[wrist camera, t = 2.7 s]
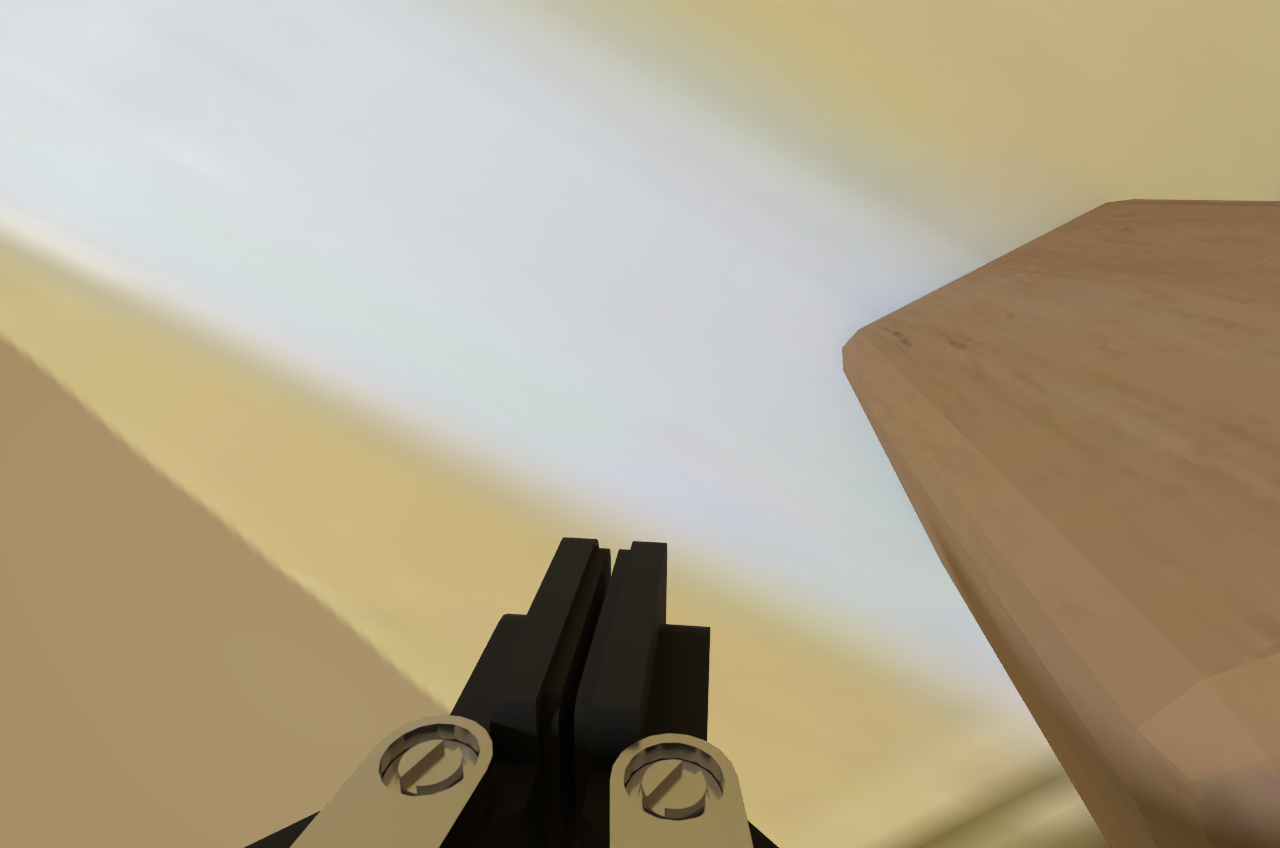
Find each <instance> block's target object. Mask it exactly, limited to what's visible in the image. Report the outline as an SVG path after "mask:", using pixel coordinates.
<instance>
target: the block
mask: <svg viewBox="0 0 1280 848" xmlns="http://www.w3.org/2000/svg"><path fill="white" fill-rule="evenodd" d="M842 352H843V370H844V372H845V374H846V376H847V378H848V380H849V382H850V384H851V386H852V388H853V390H854V392H855V394H856V396H857V398H858V400H859V402H860V404H861V406H862V408H863V410H864V412H865V413H866V415H867V417H868V419H869V421H870V423H871V425H872V427H873V429H874V431H875V433H876V435H877V437H878V439H879V441H880V443H881V445H882V447H883V449H884V451H885V453H886V455H887V457H888V458H889V460H890V462H891V464H892V466H893V468H894V470H895V472H896V474H897V476H898V478H899V480H900V482H901V484H902V486H903V488H904V490H905V492H906V494H907V496H908V498H909V500H910V502H911V504H912V505H913V507H914V509H915V511H916V513H917V515H918V517H919V519H920V521H921V523H922V525H923V527H924V529H925V531H926V533H927V535H928V537H929V539H930V541H931V543H932V545H933V547H934V549H935V551H936V552H937V554H938V556H939V558H940V560H941V562H942V564H943V566H944V567H945V569H946V571H947V572H948V574H949V576H950V577H951V579H952V581H953V582H954V584H955V586H956V588H957V589H958V591H959V593H960V594H961V596H962V598H963V599H964V601H965V603H966V604H967V606H968V608H969V609H970V611H971V613H972V615H973V616H974V618H975V620H976V621H977V623H978V625H979V626H980V628H981V630H982V631H983V633H984V635H985V636H986V638H987V640H988V642H989V643H990V645H991V647H992V648H993V650H994V652H995V653H996V655H997V657H998V658H999V660H1000V662H1001V663H1002V665H1003V667H1004V669H1005V670H1006V672H1007V674H1008V675H1009V677H1010V679H1011V680H1012V682H1013V684H1014V685H1015V687H1016V689H1017V690H1018V692H1019V694H1020V696H1021V697H1022V699H1023V701H1024V702H1025V704H1026V706H1027V707H1028V709H1029V711H1030V712H1031V714H1032V716H1033V718H1034V719H1035V721H1036V723H1037V724H1038V726H1039V728H1040V729H1041V731H1042V733H1043V734H1044V736H1045V738H1046V739H1047V741H1048V743H1049V745H1050V746H1051V748H1052V750H1053V751H1054V753H1055V755H1056V756H1057V758H1058V760H1059V761H1060V763H1061V765H1062V766H1063V768H1064V770H1065V772H1066V773H1067V775H1068V777H1069V778H1070V780H1071V782H1072V783H1073V785H1074V787H1075V788H1076V790H1077V792H1078V793H1079V795H1080V797H1081V799H1082V800H1083V802H1084V804H1085V805H1086V807H1087V809H1088V810H1089V812H1090V814H1091V815H1092V817H1093V819H1094V820H1095V822H1096V824H1097V826H1098V827H1099V829H1100V831H1101V832H1102V834H1103V836H1104V837H1105V839H1106V841H1107V842H1108V844H1109V846H1110V848H1280V201H1217V200H1144V199H1132V200H1124V201H1116V202H1109V203H1105V204H1103V205H1101V206H1099V207H1097V208H1095V209H1093V210H1091V211H1089V212H1087V213H1085V214H1083V215H1081V216H1079V217H1077V218H1075V219H1074V220H1072V221H1070V222H1068V223H1066V224H1064V225H1062V226H1060V227H1058V228H1056V229H1054V230H1052V231H1050V232H1048V233H1046V234H1044V235H1042V236H1040V237H1038V238H1037V239H1035V240H1033V241H1031V242H1029V243H1027V244H1025V245H1023V246H1021V247H1019V248H1017V249H1015V250H1013V251H1011V252H1009V253H1007V254H1005V255H1003V256H1001V257H1000V258H998V259H996V260H994V261H992V262H990V263H988V264H986V265H984V266H982V267H980V268H978V269H976V270H974V271H972V272H970V273H968V274H966V275H964V276H963V277H961V278H959V279H957V280H955V281H953V282H951V283H949V284H947V285H945V286H943V287H941V288H939V289H937V290H935V291H933V292H931V293H929V294H927V295H925V296H924V297H922V298H920V299H918V300H916V301H914V302H912V303H910V304H908V305H906V306H904V307H902V308H900V309H898V310H896V311H894V312H892V313H890V314H888V315H887V316H885V317H883V318H881V319H879V320H877V321H875V322H873V323H871V324H869V325H867V326H865V327H863V328H861V329H859V330H858V331H857V332H856V333H855V334H854V335H853V336H852V338H851V339H850V340H849V341H848V342H847V343H846V344H845V345H844V347H843V348H842Z"/></svg>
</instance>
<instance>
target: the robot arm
mask: <svg viewBox="0 0 1280 848" xmlns="http://www.w3.org/2000/svg"><path fill="white" fill-rule="evenodd" d="M666 589H667V543H657V542H638V541H633V543H632V546H631V550H623V549H619V551H618V555H617V558H616V562H615V565H614V568H613V572H612V575H611V554H610V549H605V548H599V544H598V540H597V539H583V538H565V537H563V539H562V540H561V543H560V545H559V547H558V549H557V551H556V553H555V555H554V558H553V560H552V562H551V564H550V566H549V568H548V570H547V573H546V575H545V577H544V579H543V581H542V583H541V585H540V588H539V590H538V592H537V594H536V596H535V598H534V600H533V603H532V605H531V607H530V609H529V611H528V613H527V615H519V614H505V615H503V617H502V618H501V619H500V621H499V623H498V625H497V627H496V629H495V630H494V632H493V634H492V636H491V638H490V640H489V642H488V644H487V646H486V648H485V649H484V651H483V653H482V655H481V657H480V659H479V661H478V663H477V665H476V667H475V669H474V670H473V672H472V674H471V676H470V678H469V680H468V682H467V684H466V686H465V688H464V690H463V691H462V693H461V695H460V697H459V699H458V701H457V703H456V705H455V707H454V709H453V710H452V712H451V714H450V715H440V716H431V717H424V718H422V719H418V720H415V721H412V722H410V723H407V724H404V725H403V726H401V727H399V728H398V729H396V730H394V731H392V732H391V733H389V734H388V735H387V736H386V737H385V738H384V739H382V740H381V741H380V742H379V743H378V744H377V745H376V746H375V747H374V748H373V750H372V751H371V752H370V753H369V754H368V755H367V757H366V758H365V759H364V760H363V761H362V763H361V764H360V765H359V766H358V767H357V769H356V770H355V771H354V772H353V773H352V775H351V776H350V777H349V778H348V779H347V780H346V781H345V783H344V784H343V785H342V786H341V787H340V789H339V790H338V791H337V792H336V793H335V795H334V796H333V797H332V798H331V799H330V800H329V802H328V803H327V804H326V805H325V806H324V808H323V809H322V810H321V811H319V812H317V813H315V814H313V815H311V816H309V817H306V818H304V819H302V820H300V821H298V822H296V823H294V824H292V825H290V826H288V827H286V828H284V829H282V830H280V831H278V832H276V833H273V834H271V835H269V836H267V837H265V838H263V839H261V840H259V841H257V842H255V843H253V844H251V845H249V846H247V847H245V848H779V847H777V846H776V845H775V844H774V843H773V842H772V841H771V840H769V839H768V838H767V837H766V836H765V835H764V834H763V833H761V832H760V831H759V830H758V829H757V828H756V827H755V826H753V825H752V824H751V823H750V822H749V821H748V820H747V816H746V812H745V807H744V803H743V798H742V793H741V789H740V784H739V780H738V776H737V774H736V772H735V769H734V767H733V765H732V762H731V761H730V760H729V759H728V758H727V757H726V756H725V755H724V753H723V752H722V751H721V750H720V749H718V748H716V747H715V746H713V745H712V744H710V743H708V742H707V721H708V686H709V652H710V627H701V626H686V625H670V624H666Z"/></svg>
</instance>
